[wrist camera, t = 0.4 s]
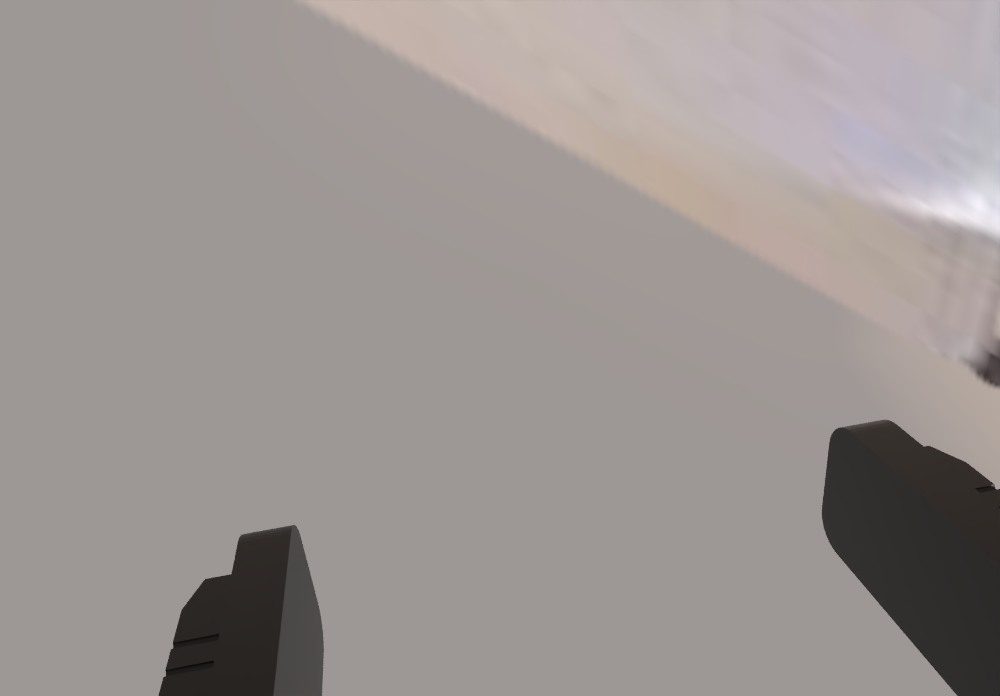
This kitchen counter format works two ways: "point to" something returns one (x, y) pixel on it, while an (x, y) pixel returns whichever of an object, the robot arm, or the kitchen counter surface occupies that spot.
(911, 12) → the kitchen counter surface
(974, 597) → the robot arm
